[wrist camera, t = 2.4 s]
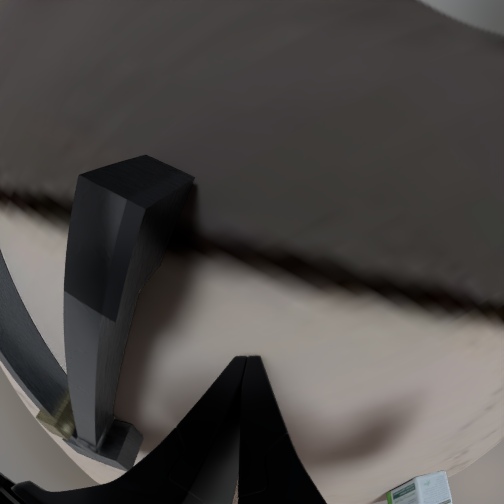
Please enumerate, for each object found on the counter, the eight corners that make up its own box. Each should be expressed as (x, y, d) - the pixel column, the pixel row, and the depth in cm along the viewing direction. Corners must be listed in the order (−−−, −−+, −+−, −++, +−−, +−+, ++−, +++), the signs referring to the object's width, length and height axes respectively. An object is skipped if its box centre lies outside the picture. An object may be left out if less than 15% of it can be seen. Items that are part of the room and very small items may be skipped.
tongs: (143, 437, 15) (129, 477, 12) (91, 423, 16) (75, 456, 13) (2, 146, 7) (-61, 166, 4) (-35, 178, 8) (-80, 200, 5)
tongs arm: (116, 423, 14) (100, 458, 11) (93, 410, 14) (76, 444, 11) (195, 177, 7) (140, 212, 4) (140, 152, 7) (65, 173, 4)
